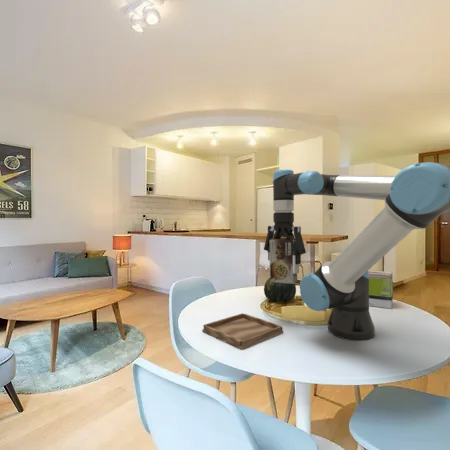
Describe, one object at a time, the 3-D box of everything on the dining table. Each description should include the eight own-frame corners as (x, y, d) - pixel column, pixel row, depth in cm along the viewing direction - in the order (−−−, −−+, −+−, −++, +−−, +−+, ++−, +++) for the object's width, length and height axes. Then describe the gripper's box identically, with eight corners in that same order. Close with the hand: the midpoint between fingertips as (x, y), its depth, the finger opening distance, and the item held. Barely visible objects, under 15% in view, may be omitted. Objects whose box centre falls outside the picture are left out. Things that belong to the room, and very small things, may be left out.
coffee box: (297, 280, 113) (297, 238, 113) (293, 284, 108) (293, 239, 107) (274, 278, 117) (274, 237, 117) (269, 282, 112) (269, 238, 111)
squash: (258, 285, 153) (266, 266, 143) (284, 285, 157) (294, 266, 147) (266, 310, 142) (275, 291, 133) (294, 308, 147) (305, 290, 137)
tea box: (393, 303, 137) (393, 271, 137) (391, 309, 129) (391, 275, 129) (357, 299, 146) (357, 269, 145) (354, 304, 137) (353, 272, 137)
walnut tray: (283, 332, 104) (283, 326, 104) (241, 350, 91) (241, 342, 91) (243, 318, 119) (243, 313, 119) (202, 331, 106) (202, 325, 106)
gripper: (316, 211, 105) (316, 274, 106) (267, 212, 123) (267, 266, 124) (303, 211, 101) (303, 276, 101) (254, 212, 118) (254, 268, 119)
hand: (283, 271), depth 112 cm, fingers closed on coffee box, 10 cm apart
